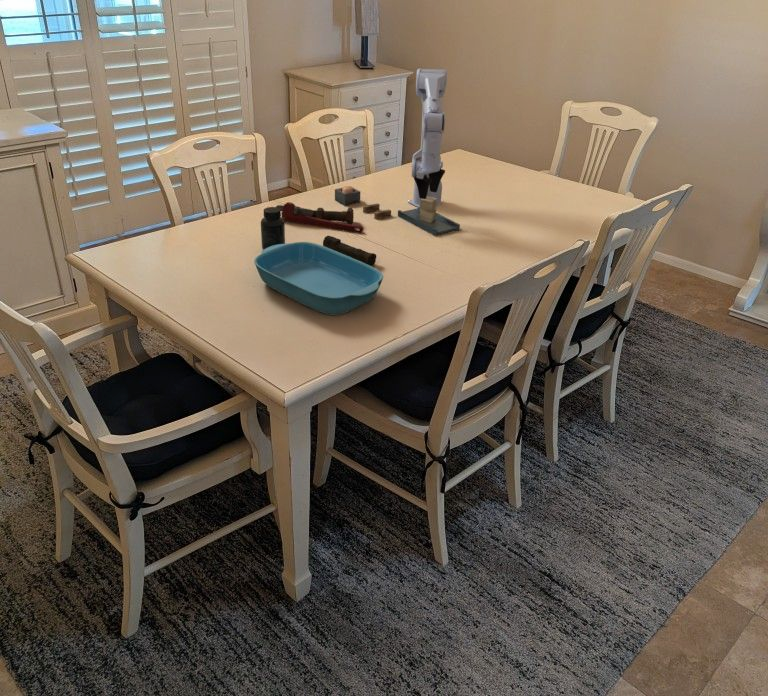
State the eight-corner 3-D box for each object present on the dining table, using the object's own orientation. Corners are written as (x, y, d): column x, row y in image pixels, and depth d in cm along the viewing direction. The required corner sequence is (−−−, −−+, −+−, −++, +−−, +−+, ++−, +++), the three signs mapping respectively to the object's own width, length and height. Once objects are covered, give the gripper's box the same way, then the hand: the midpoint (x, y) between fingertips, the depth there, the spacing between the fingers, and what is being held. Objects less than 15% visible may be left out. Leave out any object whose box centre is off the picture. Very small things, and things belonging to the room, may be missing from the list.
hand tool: (377, 265, 196) (377, 250, 194) (367, 269, 194) (368, 254, 191) (329, 246, 206) (329, 231, 204) (320, 249, 204) (320, 235, 201)
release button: (348, 196, 241) (349, 185, 239) (354, 199, 238) (354, 188, 236) (340, 198, 239) (340, 187, 237) (345, 201, 237) (346, 190, 234)
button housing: (350, 197, 243) (350, 186, 241) (360, 202, 239) (360, 191, 237) (334, 200, 240) (334, 189, 238) (344, 205, 235) (344, 194, 233)
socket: (377, 208, 234) (377, 203, 233) (390, 216, 229) (391, 210, 228) (362, 211, 231) (363, 206, 230) (376, 219, 226) (376, 213, 225)
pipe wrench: (361, 236, 215) (273, 221, 221) (363, 233, 217) (276, 218, 223) (362, 216, 212) (272, 201, 218) (364, 213, 214) (275, 199, 220)
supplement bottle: (270, 242, 206) (268, 203, 200) (289, 246, 204) (288, 208, 198) (257, 250, 201) (255, 211, 195) (276, 255, 199) (275, 215, 192)
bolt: (307, 224, 224) (353, 227, 223) (304, 222, 219) (350, 224, 218) (308, 207, 224) (354, 209, 223) (305, 204, 219) (351, 206, 218)
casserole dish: (398, 299, 179) (400, 275, 175) (339, 330, 164) (340, 304, 160) (300, 257, 198) (299, 234, 195) (239, 282, 183) (237, 257, 180)
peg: (424, 216, 227) (426, 195, 223) (435, 218, 225) (437, 198, 221) (419, 219, 224) (420, 199, 220) (430, 222, 222) (432, 201, 218)
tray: (421, 210, 234) (421, 205, 233) (459, 230, 221) (460, 224, 220) (397, 216, 229) (397, 210, 228) (435, 236, 216) (436, 230, 215)
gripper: (430, 145, 220) (427, 186, 227) (409, 155, 209) (406, 198, 217) (450, 149, 217) (446, 190, 225) (429, 160, 207) (426, 203, 214)
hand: (428, 194), depth 220 cm, fingers open, 7 cm apart
